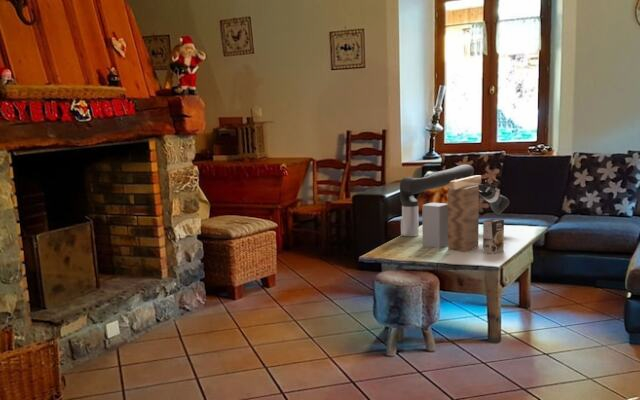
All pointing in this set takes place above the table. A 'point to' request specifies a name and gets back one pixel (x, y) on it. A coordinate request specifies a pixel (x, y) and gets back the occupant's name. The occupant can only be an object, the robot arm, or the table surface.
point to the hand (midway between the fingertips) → (477, 181)
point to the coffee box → (493, 236)
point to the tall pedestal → (463, 218)
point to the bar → (465, 182)
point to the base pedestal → (435, 224)
